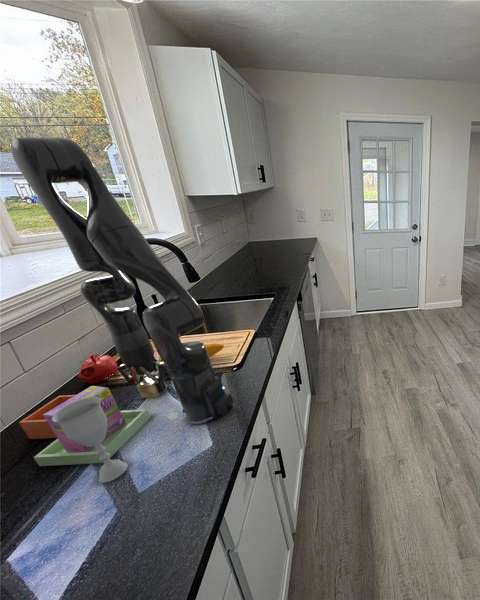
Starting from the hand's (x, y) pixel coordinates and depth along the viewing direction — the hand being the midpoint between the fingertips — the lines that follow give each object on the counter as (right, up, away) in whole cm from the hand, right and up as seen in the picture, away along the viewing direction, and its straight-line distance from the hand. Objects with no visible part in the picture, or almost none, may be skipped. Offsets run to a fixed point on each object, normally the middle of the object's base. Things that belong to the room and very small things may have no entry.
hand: (154, 391), depth 96 cm
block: (0, 0, 0) cm, 0 cm away
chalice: (+11, -11, -26) cm, 30 cm away
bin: (-15, -6, -10) cm, 19 cm away
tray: (-1, -7, -17) cm, 18 cm away
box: (-1, -7, -17) cm, 18 cm away
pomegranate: (-25, +2, +10) cm, 27 cm away
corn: (+3, +6, +15) cm, 16 cm away
